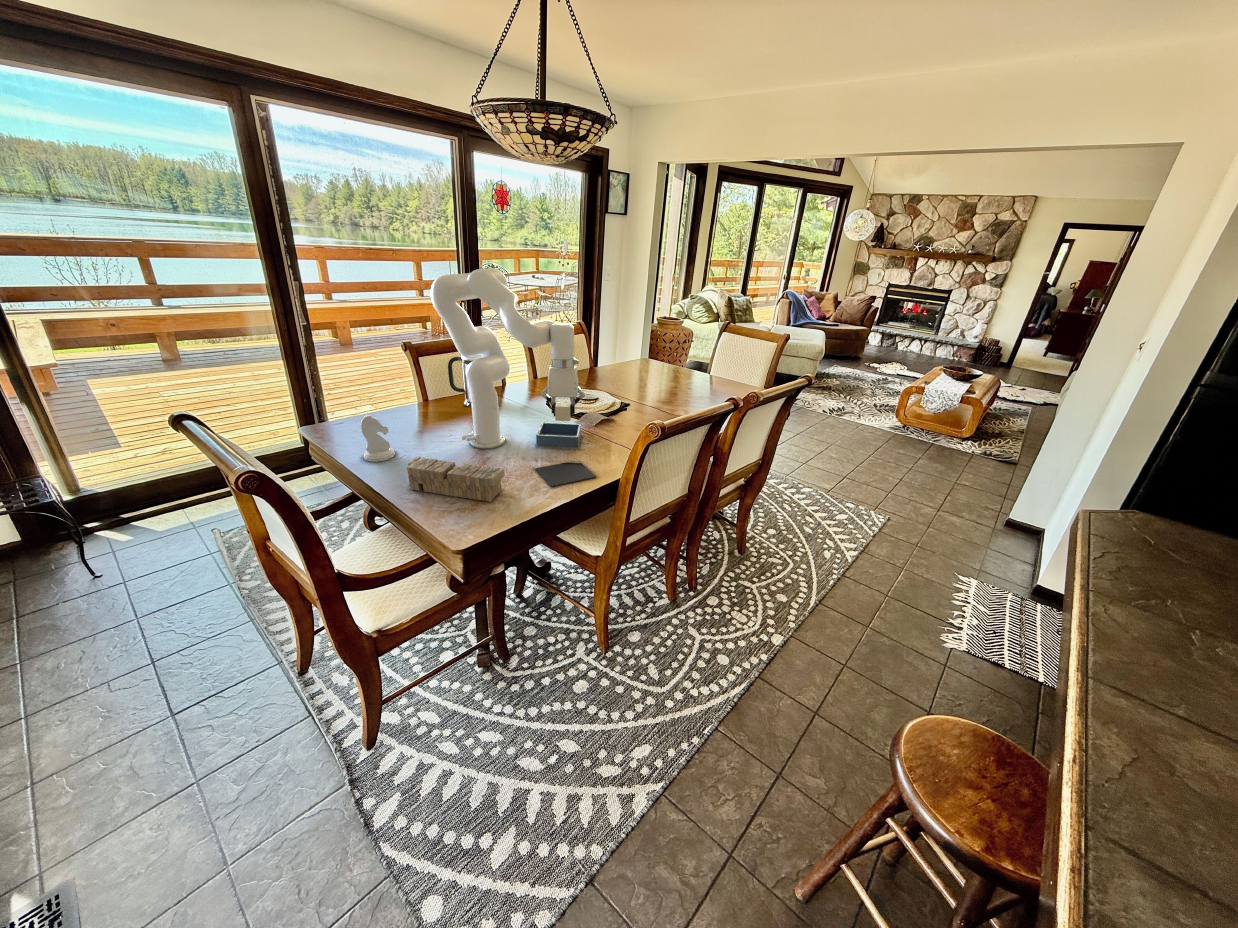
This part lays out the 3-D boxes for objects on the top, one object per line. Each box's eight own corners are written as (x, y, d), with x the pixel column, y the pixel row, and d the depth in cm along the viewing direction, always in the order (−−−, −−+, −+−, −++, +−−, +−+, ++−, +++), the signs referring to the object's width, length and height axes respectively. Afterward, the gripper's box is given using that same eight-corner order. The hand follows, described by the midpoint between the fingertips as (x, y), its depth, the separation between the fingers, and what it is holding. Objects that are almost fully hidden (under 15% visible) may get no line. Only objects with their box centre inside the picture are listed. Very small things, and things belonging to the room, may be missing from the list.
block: (555, 420, 162) (555, 406, 160) (556, 415, 167) (556, 402, 164) (570, 421, 162) (570, 407, 160) (571, 416, 167) (571, 402, 165)
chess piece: (397, 458, 165) (390, 417, 159) (365, 463, 160) (357, 421, 154) (392, 448, 173) (385, 408, 166) (362, 452, 168) (353, 412, 161)
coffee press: (485, 395, 232) (480, 332, 219) (501, 404, 222) (497, 338, 209) (450, 401, 221) (443, 335, 208) (466, 411, 211) (460, 342, 198)
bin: (536, 447, 179) (536, 435, 177) (542, 434, 191) (541, 422, 189) (578, 449, 179) (578, 437, 177) (581, 435, 191) (581, 424, 189)
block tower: (406, 491, 147) (494, 503, 141) (401, 466, 143) (492, 477, 137) (421, 480, 154) (506, 490, 148) (417, 456, 150) (503, 466, 144)
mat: (551, 487, 152) (551, 486, 152) (535, 469, 163) (535, 468, 162) (596, 477, 159) (596, 476, 159) (578, 461, 170) (578, 460, 170)
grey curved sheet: (592, 428, 199) (592, 422, 198) (575, 422, 205) (575, 416, 204) (615, 420, 209) (616, 415, 208) (599, 414, 215) (599, 409, 214)
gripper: (589, 361, 160) (588, 412, 168) (538, 359, 159) (539, 411, 167) (588, 366, 153) (587, 420, 161) (534, 364, 152) (536, 418, 160)
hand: (563, 415), depth 164 cm, fingers closed on block, 5 cm apart
